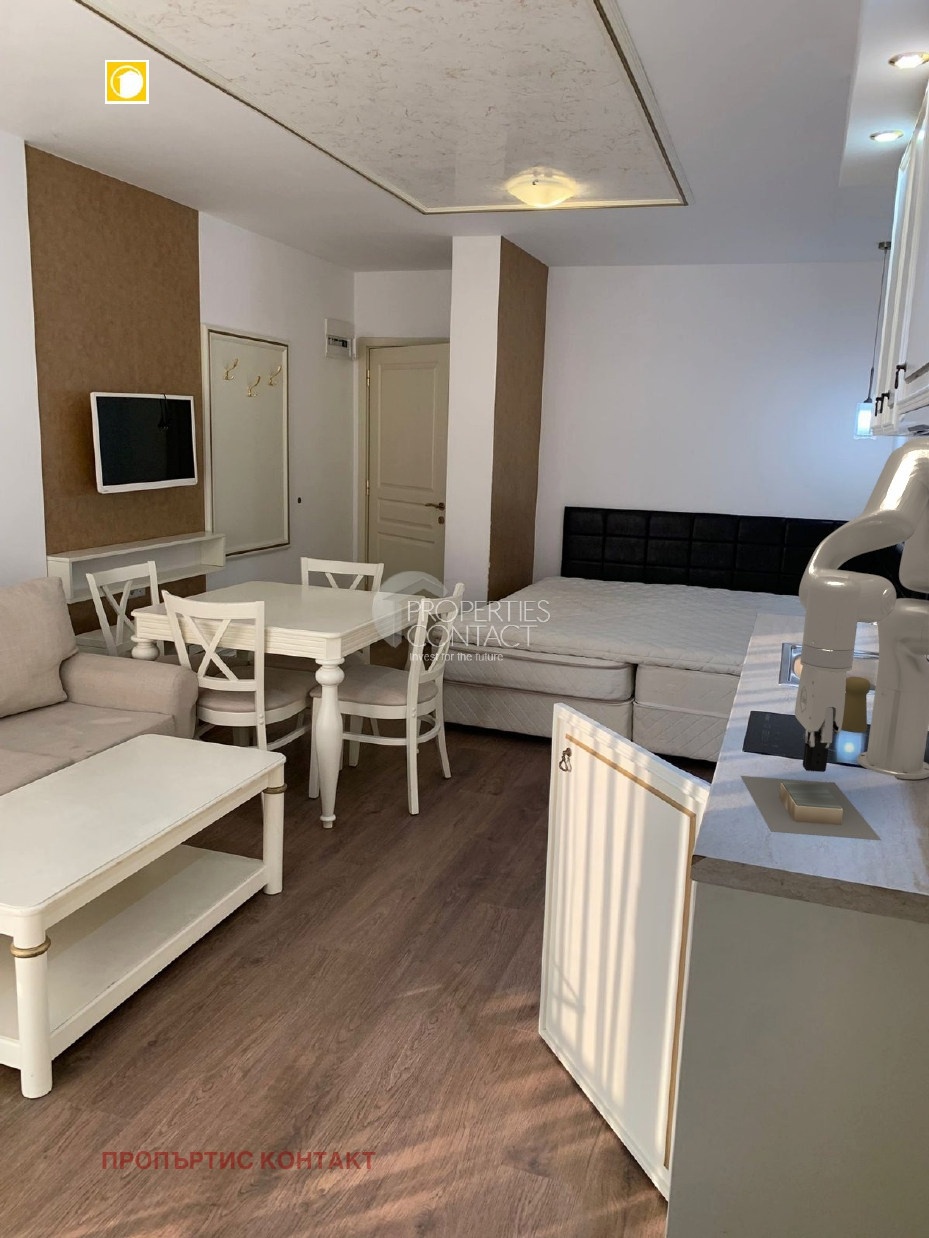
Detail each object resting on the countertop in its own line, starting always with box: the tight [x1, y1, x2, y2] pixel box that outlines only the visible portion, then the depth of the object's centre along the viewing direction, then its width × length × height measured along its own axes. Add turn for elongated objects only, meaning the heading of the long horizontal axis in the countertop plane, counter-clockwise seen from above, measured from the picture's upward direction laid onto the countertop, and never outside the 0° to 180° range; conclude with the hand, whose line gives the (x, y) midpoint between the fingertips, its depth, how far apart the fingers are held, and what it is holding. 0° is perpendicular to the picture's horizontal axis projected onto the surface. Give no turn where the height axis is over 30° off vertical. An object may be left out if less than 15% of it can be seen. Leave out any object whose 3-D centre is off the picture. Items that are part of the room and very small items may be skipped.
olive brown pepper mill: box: [841, 676, 871, 734], centre depth 196 cm, size 6×6×11 cm
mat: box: [740, 775, 882, 841], centre depth 151 cm, size 24×16×1 cm, turn 174°
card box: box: [779, 782, 843, 825], centre depth 148 cm, size 3×7×10 cm
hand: (813, 769), depth 148 cm, fingers closed
